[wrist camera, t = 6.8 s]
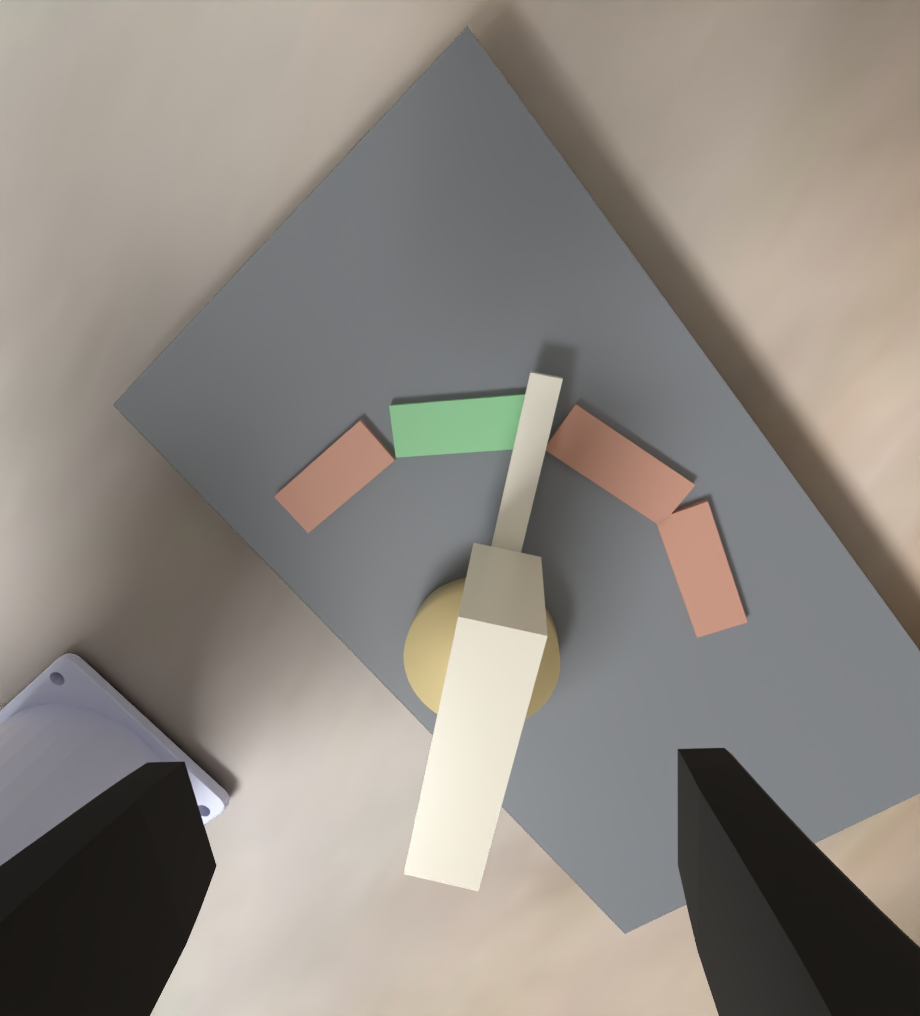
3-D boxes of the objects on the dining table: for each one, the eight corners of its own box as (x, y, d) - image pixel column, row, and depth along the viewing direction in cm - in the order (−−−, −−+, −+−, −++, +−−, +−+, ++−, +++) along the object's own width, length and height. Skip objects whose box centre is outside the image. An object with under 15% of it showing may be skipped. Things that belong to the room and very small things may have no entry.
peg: (529, 753, 19) (532, 904, 14) (393, 723, 19) (350, 861, 14) (631, 390, 15) (682, 427, 10) (460, 356, 15) (432, 376, 10)
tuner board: (619, 901, 22) (625, 939, 21) (138, 399, 18) (108, 405, 16) (967, 729, 18) (1001, 761, 17) (471, 49, 14) (466, 21, 13)
